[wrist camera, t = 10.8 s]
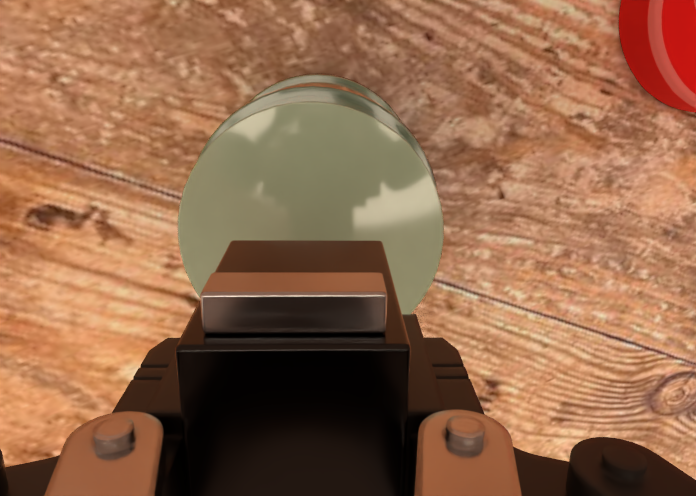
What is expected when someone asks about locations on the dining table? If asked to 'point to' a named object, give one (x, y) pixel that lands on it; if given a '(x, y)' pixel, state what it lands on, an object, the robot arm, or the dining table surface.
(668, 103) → the decorative ornament
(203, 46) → the dining table surface
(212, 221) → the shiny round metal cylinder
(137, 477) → the robot arm
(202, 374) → the black usb flash drive
